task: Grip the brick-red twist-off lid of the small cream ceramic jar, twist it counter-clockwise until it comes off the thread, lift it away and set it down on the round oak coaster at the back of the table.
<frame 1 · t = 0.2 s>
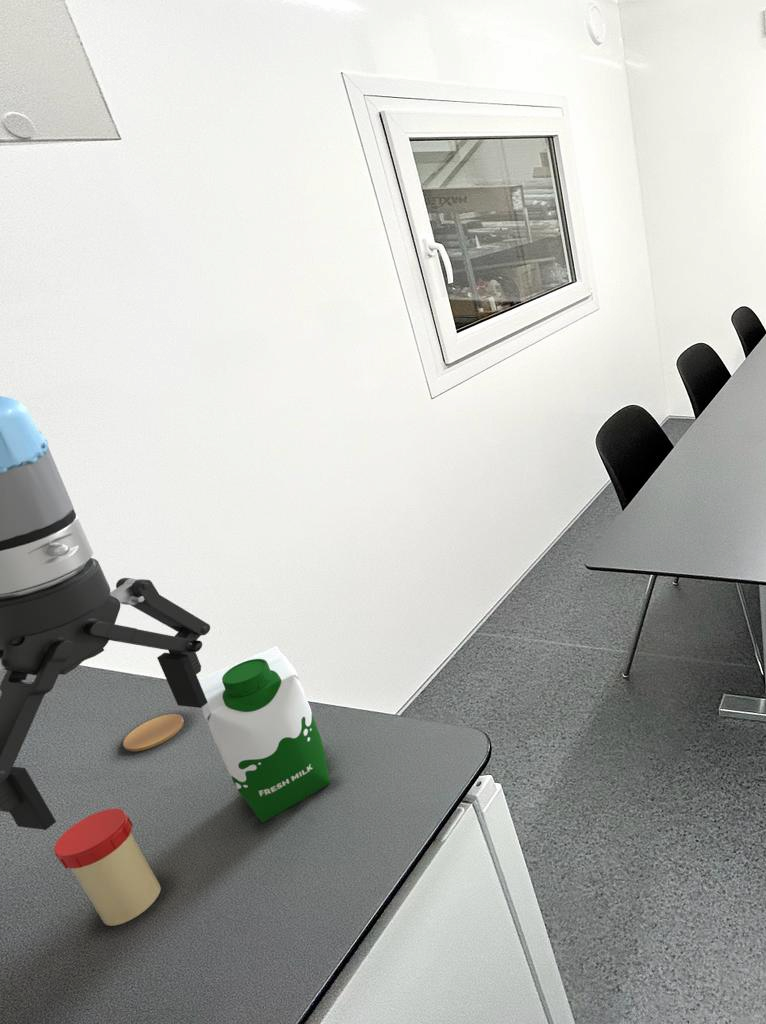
hand: (123, 758, 61), 19 cm above the table, tool pointing down, fingers open, 13 cm apart
jar: (132, 903, 66), on the table
coaster: (154, 733, 87), on the table
milk carton: (290, 787, 79), on the table
jar lid: (92, 833, 63), point 11 cm above the table, screwed on, not yet turned
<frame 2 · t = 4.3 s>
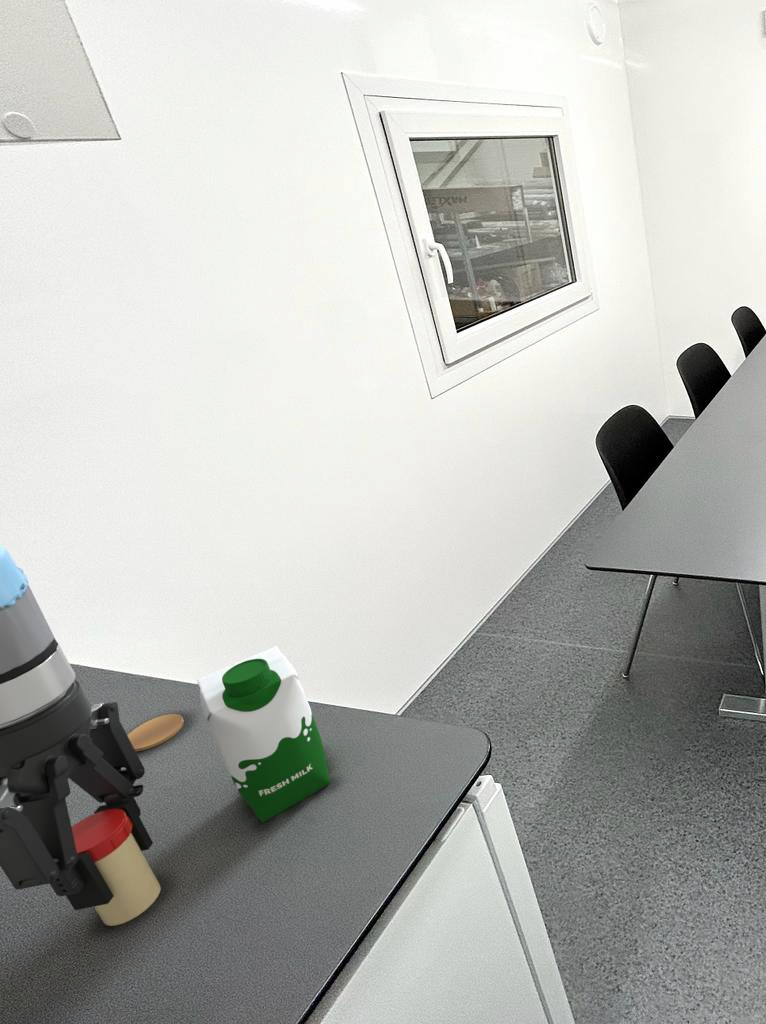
hand: (115, 874, 65), 5 cm above the table, tool pointing down, fingers closed on jar lid, 5 cm apart
jar lid: (92, 833, 63), point 11 cm above the table, screwed on, not yet turned, touching gripper
everything else where it was.
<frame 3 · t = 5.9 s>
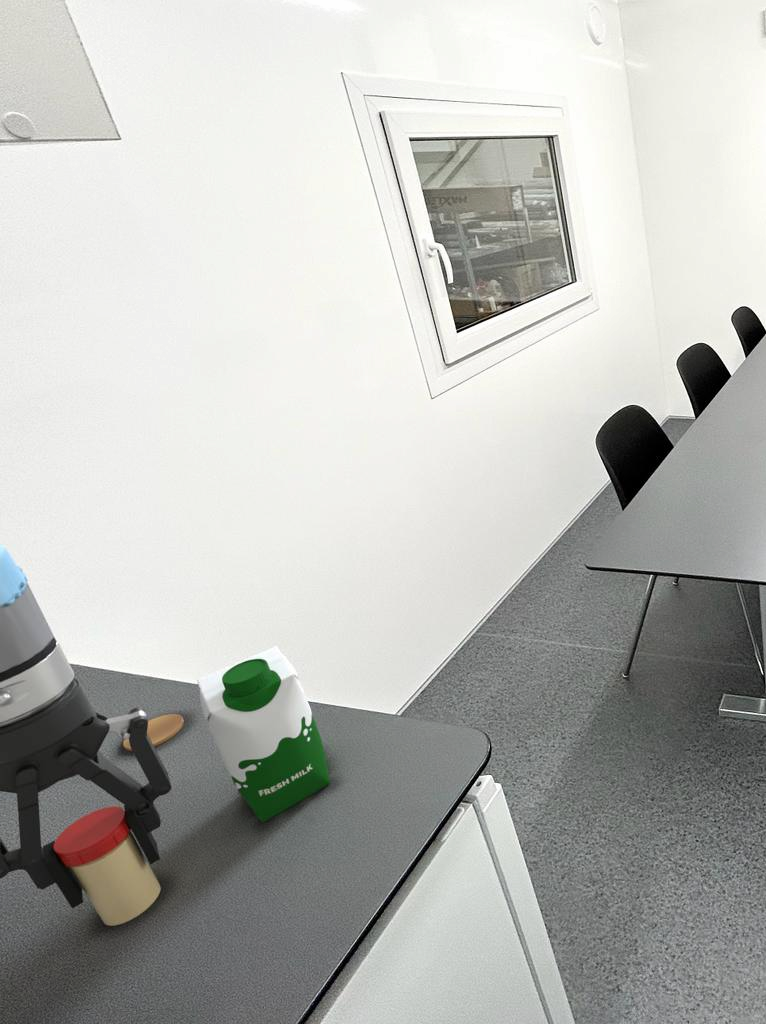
hand: (116, 873, 65), 5 cm above the table, tool pointing down, fingers closed on jar lid, 5 cm apart
jar lid: (91, 831, 62), point 11 cm above the table, turned 126° so far, risen 0.3 cm, still on its thread, touching gripper
everything else where it was.
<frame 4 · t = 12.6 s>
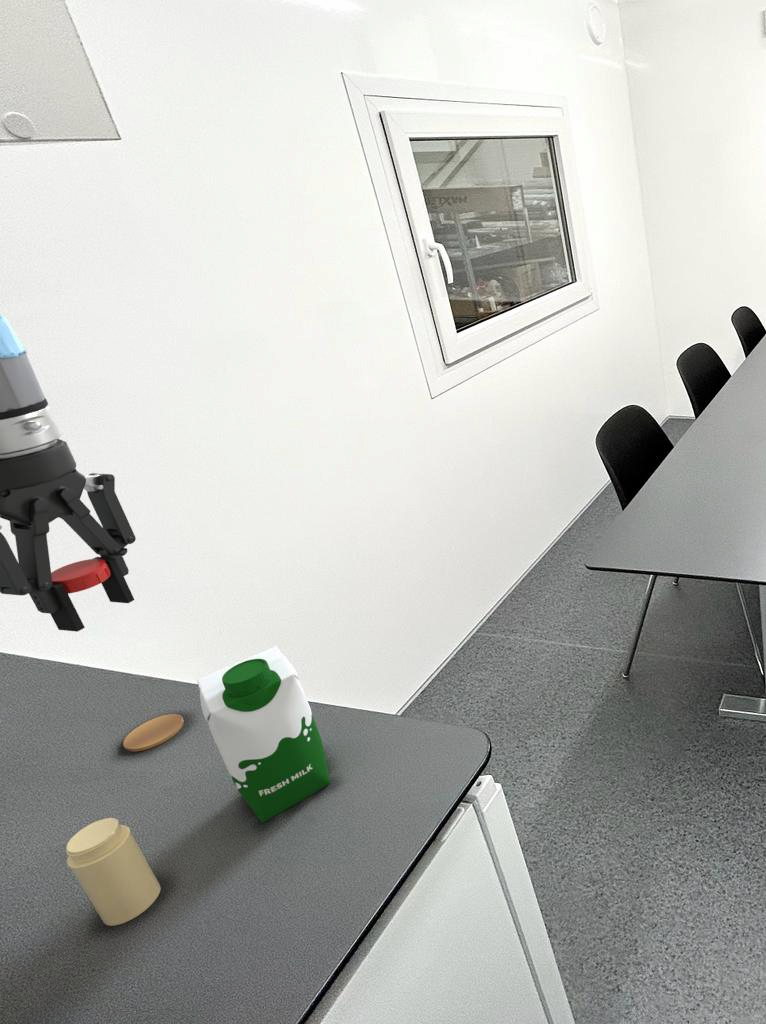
hand: (97, 614, 80), 20 cm above the table, tool pointing down, fingers closed on jar lid, 5 cm apart
jar lid: (77, 572, 77), point 27 cm above the table, off its thread, touching gripper
everything else where it was.
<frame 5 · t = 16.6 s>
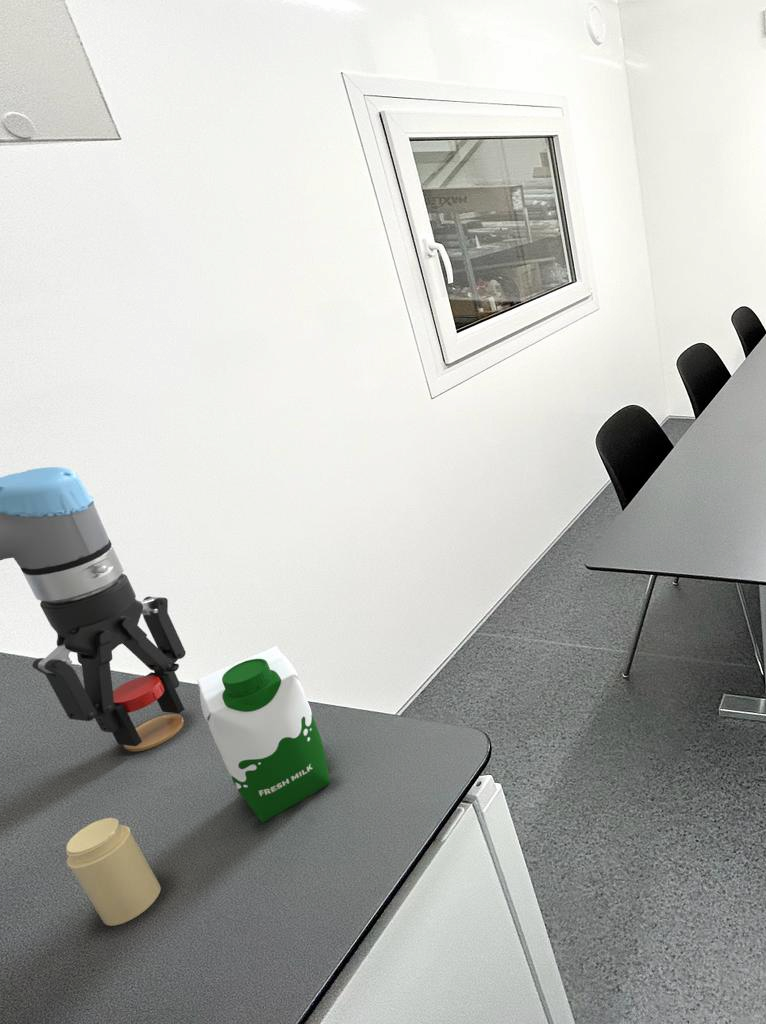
hand: (152, 726, 86), 1 cm above the table, tool pointing down, fingers closed on jar lid, 5 cm apart
jar lid: (135, 690, 84), point 8 cm above the table, off its thread, touching gripper
everything else where it was.
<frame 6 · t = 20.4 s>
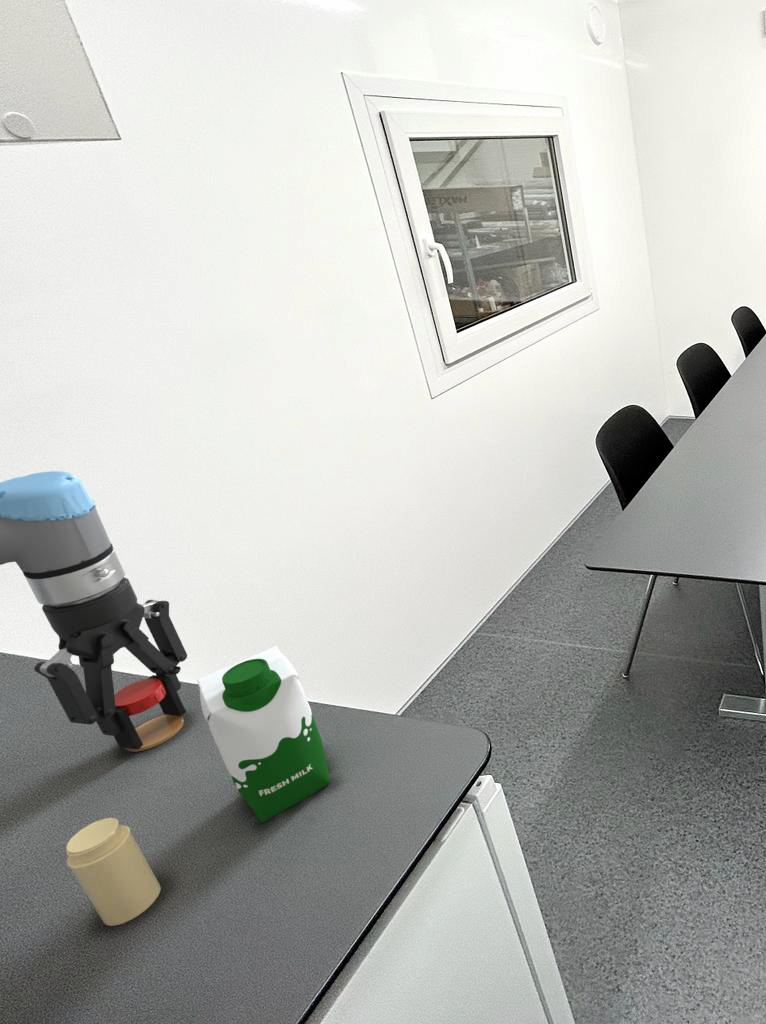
hand: (153, 728, 87), 1 cm above the table, tool pointing down, fingers closed on jar lid, 5 cm apart
jar lid: (136, 694, 84), point 7 cm above the table, off its thread, touching gripper
everything else where it was.
when the fingers open (1 cm above the table, at t = 20.8 s): jar lid drops 2 cm, resting on coaster.
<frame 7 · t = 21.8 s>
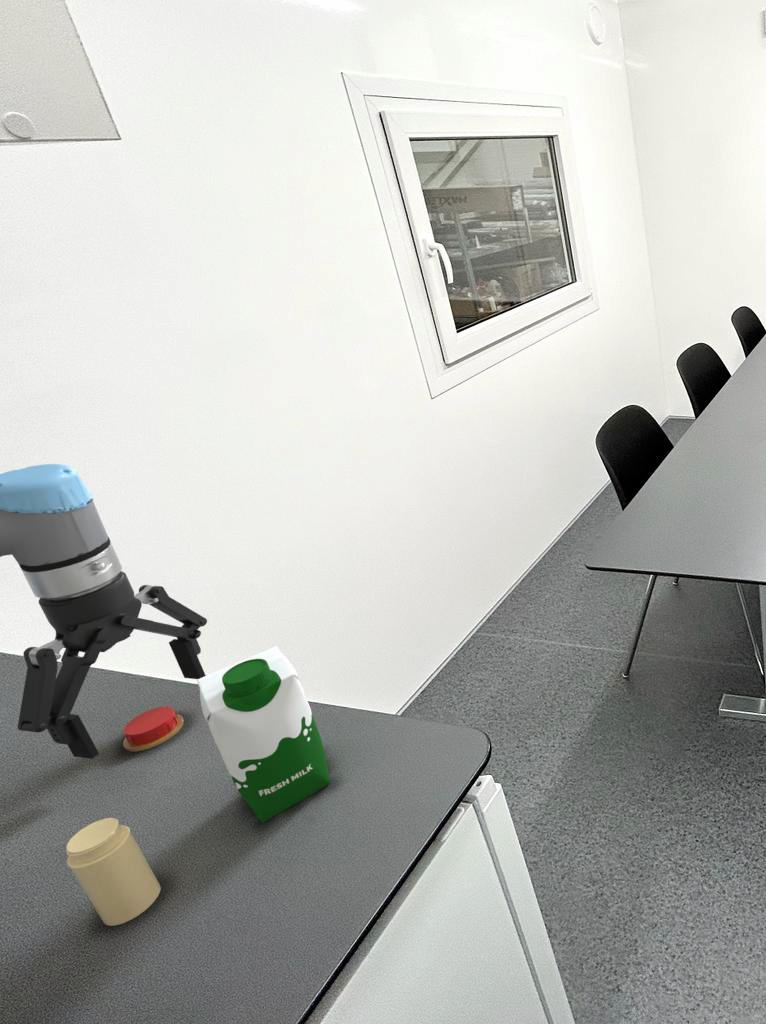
hand: (145, 713, 85), 4 cm above the table, tool pointing down, fingers open, 13 cm apart
jar lid: (150, 722, 86), point 2 cm above the table, off its thread, touching coaster
everything else where it was.
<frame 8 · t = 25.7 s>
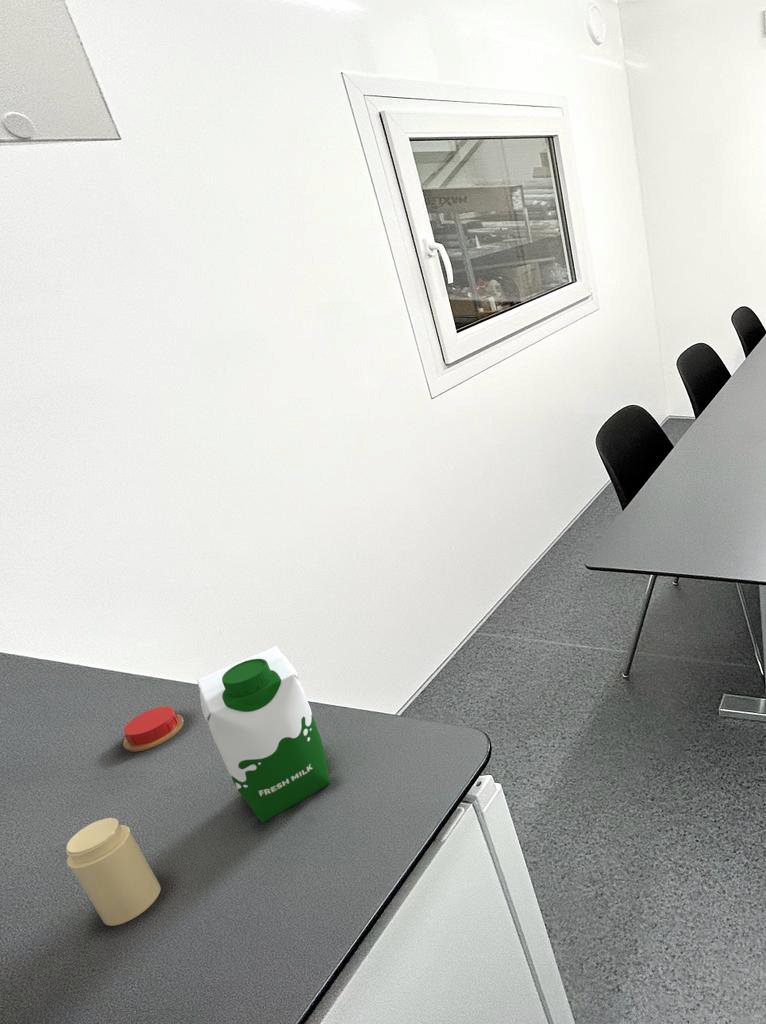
nothing on the table moved.
at the end: jar lid inside the target area on the coaster (0.1 cm from its centre), point 2.0 cm above the coaster's base; the gripper is holding nothing; jar tilted 0° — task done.
